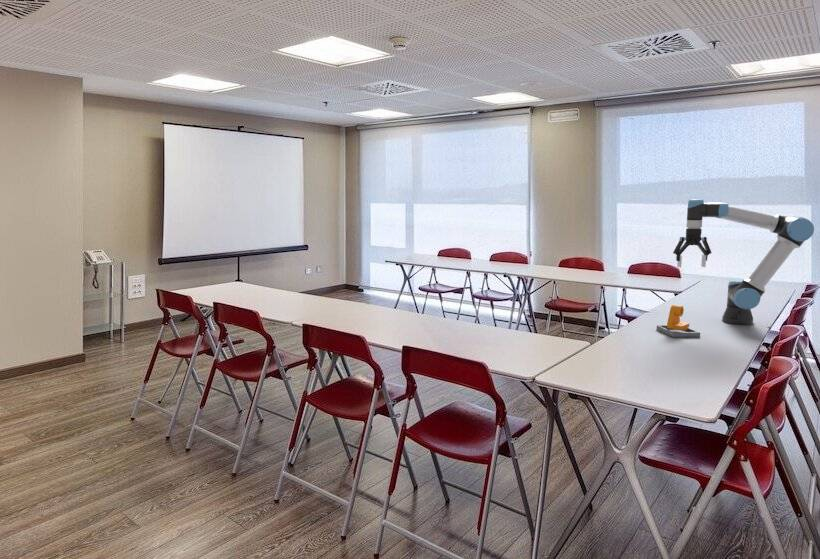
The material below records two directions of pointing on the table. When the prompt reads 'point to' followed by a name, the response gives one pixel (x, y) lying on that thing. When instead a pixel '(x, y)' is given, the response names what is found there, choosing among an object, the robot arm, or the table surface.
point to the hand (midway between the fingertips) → (691, 266)
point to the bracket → (676, 318)
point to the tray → (678, 332)
